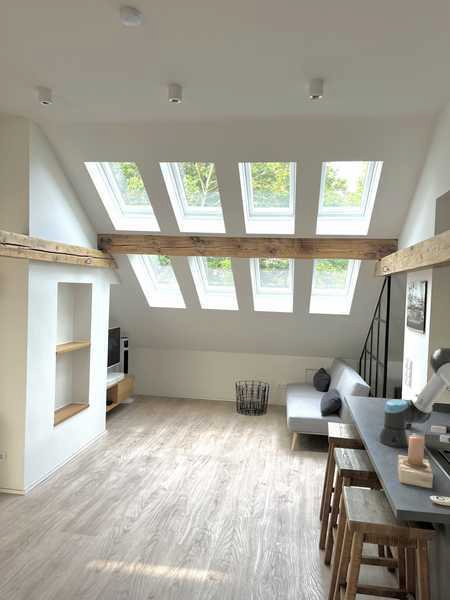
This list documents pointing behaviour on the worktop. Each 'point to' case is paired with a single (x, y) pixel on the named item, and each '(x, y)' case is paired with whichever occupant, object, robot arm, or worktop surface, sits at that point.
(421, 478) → the plinth
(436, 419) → the worktop surface
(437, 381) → the robot arm
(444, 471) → the worktop surface
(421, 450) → the slanted peach cylinder
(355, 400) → the worktop surface
